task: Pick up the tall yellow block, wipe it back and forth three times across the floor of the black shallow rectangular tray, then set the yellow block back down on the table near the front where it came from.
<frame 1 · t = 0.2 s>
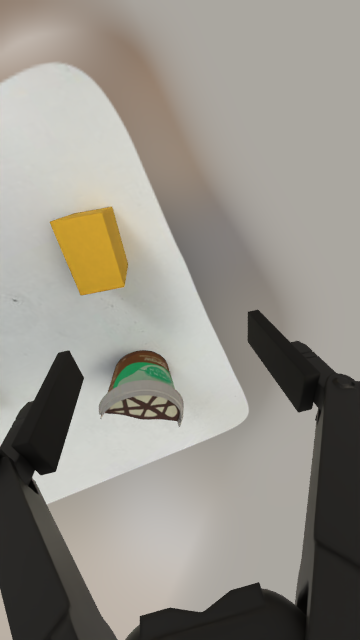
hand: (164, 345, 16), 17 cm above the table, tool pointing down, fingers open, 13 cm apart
food container: (147, 358, 38), on the table
yellow block: (102, 241, 27), on the table
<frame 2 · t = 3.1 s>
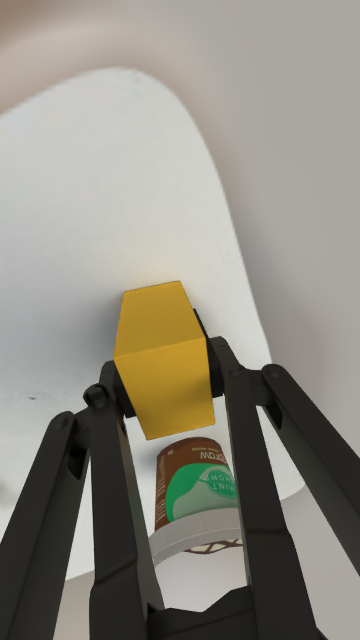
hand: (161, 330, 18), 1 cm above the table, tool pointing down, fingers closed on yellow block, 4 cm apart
food container: (197, 444, 30), on the table
yellow block: (160, 323, 19), on the table, touching gripper
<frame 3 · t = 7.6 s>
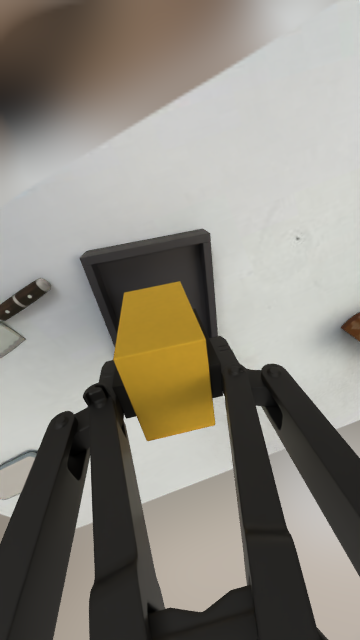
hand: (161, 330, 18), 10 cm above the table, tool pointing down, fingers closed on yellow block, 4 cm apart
black shallow rectangular tray: (161, 311, 28), on the table
rounded grey tile: (19, 473, 40), on the table
cleaver: (7, 327, 26), on the table
yellow block: (160, 323, 19), point 8 cm above the table, touching gripper
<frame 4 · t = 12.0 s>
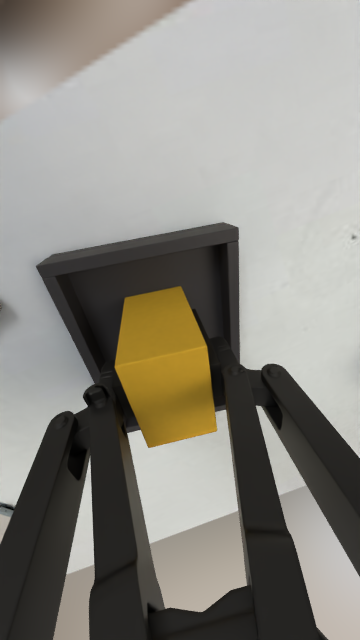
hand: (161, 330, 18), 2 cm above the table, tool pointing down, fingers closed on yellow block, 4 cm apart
black shallow rectangular tray: (162, 336, 20), on the table
yellow block: (161, 328, 19), point 1 cm above the table, touching gripper, black shallow rectangular tray
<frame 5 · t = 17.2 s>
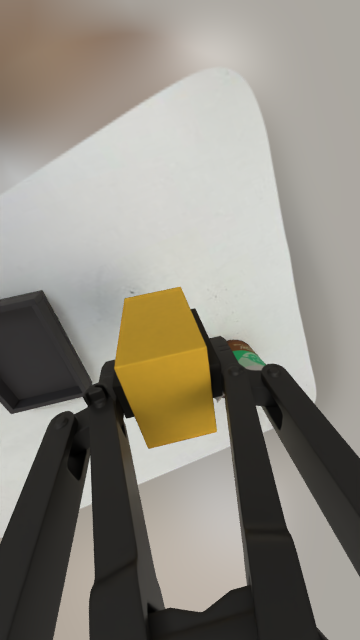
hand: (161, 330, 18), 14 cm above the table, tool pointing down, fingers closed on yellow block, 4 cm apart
black shallow rectangular tray: (29, 352, 33), on the table
food container: (234, 348, 40), on the table
yellow block: (161, 328, 19), point 14 cm above the table, touching gripper
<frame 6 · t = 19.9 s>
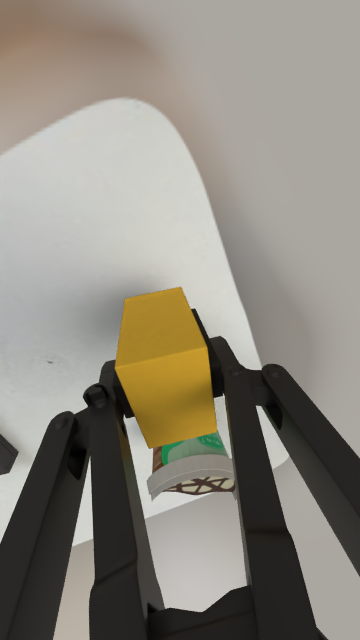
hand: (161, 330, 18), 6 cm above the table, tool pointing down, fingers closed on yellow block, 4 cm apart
food container: (189, 411, 34), on the table
yellow block: (161, 328, 19), point 5 cm above the table, touching gripper
when the fingers open (1 cm above the table, at t = 21.4 s): yellow block stays where it is, on the table.
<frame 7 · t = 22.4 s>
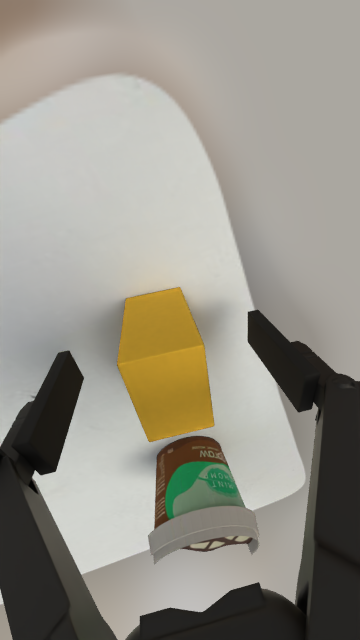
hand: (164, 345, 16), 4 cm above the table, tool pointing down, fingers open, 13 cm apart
food container: (196, 443, 30), on the table
yellow block: (161, 327, 20), on the table
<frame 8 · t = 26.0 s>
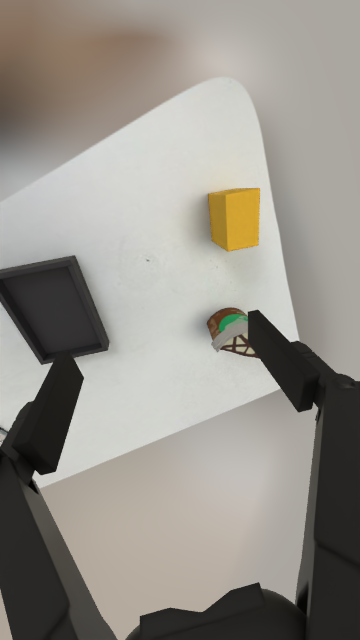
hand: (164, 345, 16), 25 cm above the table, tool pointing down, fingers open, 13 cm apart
black shallow rectangular tray: (59, 310, 40), on the table
food container: (232, 315, 46), on the table
yellow block: (223, 215, 36), on the table
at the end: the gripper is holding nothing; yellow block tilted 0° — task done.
